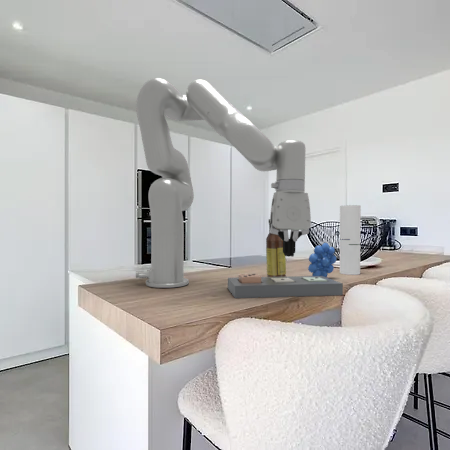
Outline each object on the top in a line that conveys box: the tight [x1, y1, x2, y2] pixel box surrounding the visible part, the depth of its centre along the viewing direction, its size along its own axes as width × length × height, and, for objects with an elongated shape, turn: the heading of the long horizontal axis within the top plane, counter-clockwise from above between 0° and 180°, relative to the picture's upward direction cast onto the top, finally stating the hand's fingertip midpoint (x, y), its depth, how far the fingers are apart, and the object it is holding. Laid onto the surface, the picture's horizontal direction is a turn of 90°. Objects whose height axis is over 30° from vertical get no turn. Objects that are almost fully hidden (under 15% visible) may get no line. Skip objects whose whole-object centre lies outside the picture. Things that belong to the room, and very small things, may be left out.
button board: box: [227, 275, 344, 299], centre depth 86 cm, size 28×12×3 cm, turn 98°
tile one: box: [271, 278, 295, 283], centre depth 86 cm, size 5×5×3 cm
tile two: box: [302, 277, 327, 282], centre depth 87 cm, size 5×5×3 cm
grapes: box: [307, 242, 337, 278], centre depth 106 cm, size 12×7×12 cm, turn 117°
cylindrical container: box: [339, 204, 362, 276], centre depth 118 cm, size 7×7×25 cm
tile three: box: [238, 273, 262, 283], centre depth 84 cm, size 5×5×3 cm
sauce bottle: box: [265, 218, 287, 277], centre depth 105 cm, size 6×6×20 cm
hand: (288, 255), depth 86 cm, fingers closed
